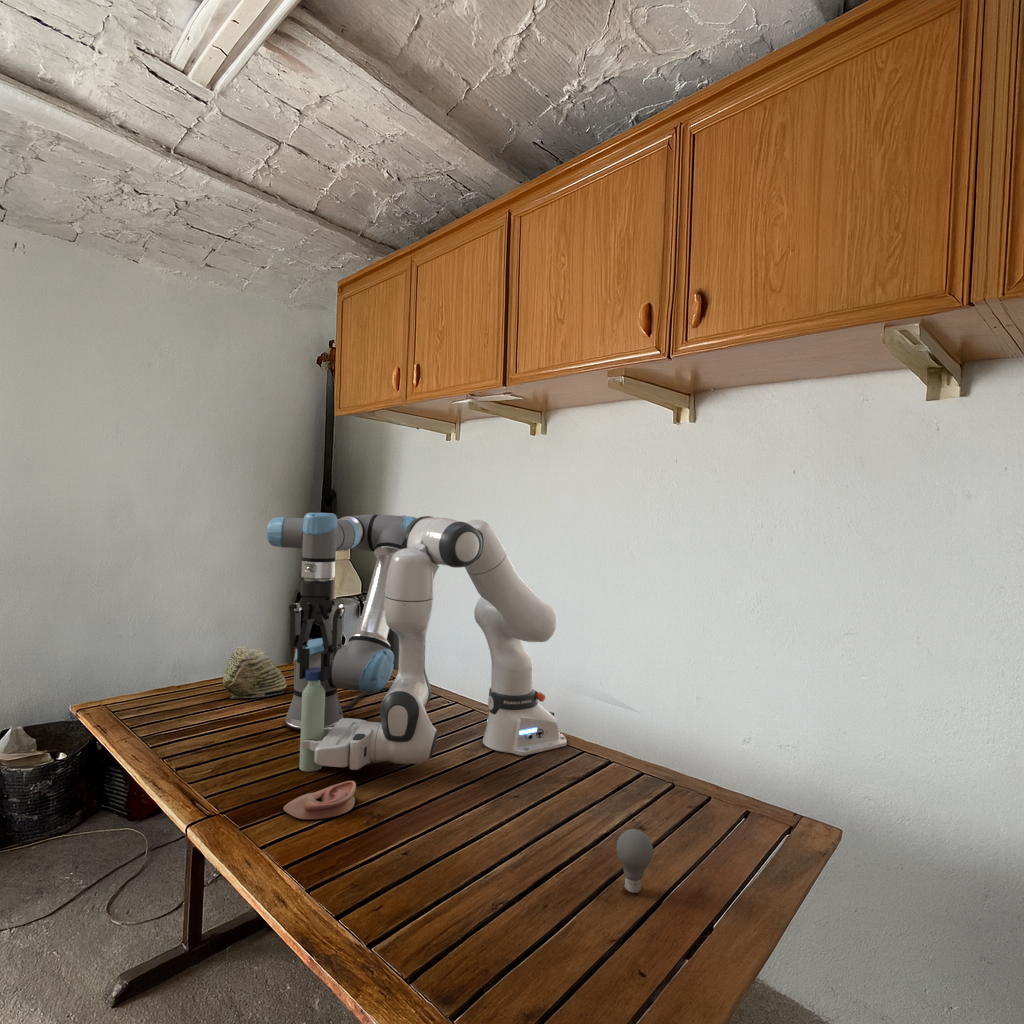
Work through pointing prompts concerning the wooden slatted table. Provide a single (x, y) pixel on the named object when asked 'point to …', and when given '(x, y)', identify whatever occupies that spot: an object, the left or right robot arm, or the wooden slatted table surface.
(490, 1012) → the wooden slatted table surface
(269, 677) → the fossil
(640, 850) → the light bulb
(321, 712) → the bottle
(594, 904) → the wooden slatted table surface
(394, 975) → the wooden slatted table surface
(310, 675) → the cap
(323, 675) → the left robot arm
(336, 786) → the anatomical model
